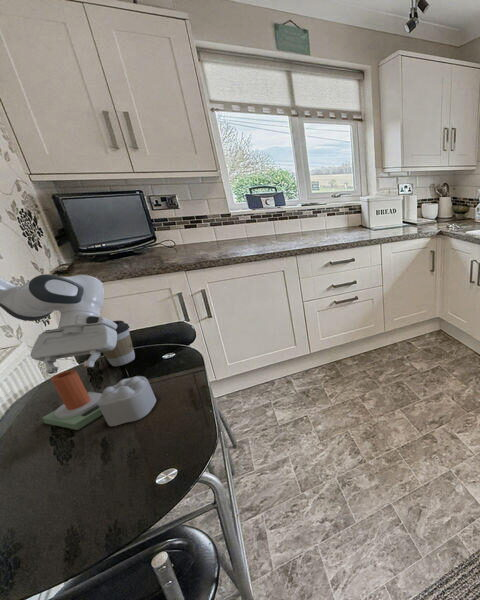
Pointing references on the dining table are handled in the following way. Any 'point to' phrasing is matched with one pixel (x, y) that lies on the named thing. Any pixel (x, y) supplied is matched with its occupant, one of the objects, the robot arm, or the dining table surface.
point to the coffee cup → (121, 346)
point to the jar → (70, 389)
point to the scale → (75, 414)
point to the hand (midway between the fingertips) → (70, 370)
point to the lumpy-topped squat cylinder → (127, 401)
